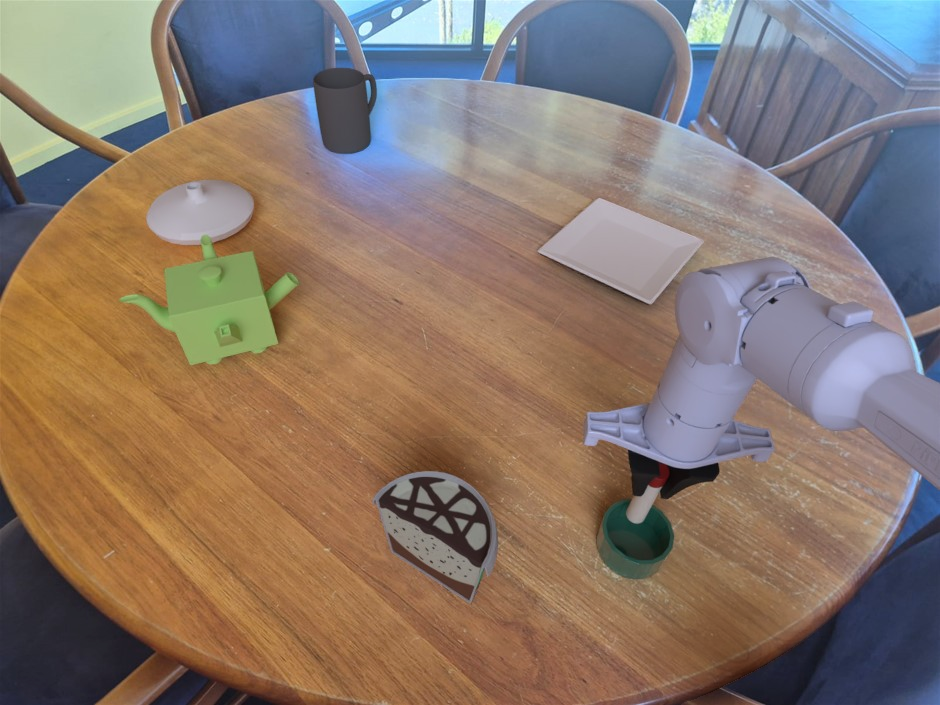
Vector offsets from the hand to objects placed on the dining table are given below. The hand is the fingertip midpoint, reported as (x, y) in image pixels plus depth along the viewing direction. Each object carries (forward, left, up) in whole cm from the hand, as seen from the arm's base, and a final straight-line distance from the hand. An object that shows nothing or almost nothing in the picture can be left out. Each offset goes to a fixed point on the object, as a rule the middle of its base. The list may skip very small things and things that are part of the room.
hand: (649, 487), depth 56 cm
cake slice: (+6, +17, -10) cm, 21 cm away
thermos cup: (-1, 0, -10) cm, 10 cm away
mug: (+89, 0, -10) cm, 90 cm away
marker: (0, 0, -5) cm, 5 cm away
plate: (+39, -26, -10) cm, 48 cm away
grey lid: (+71, +30, -10) cm, 78 cm away
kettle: (+45, +31, -10) cm, 56 cm away
